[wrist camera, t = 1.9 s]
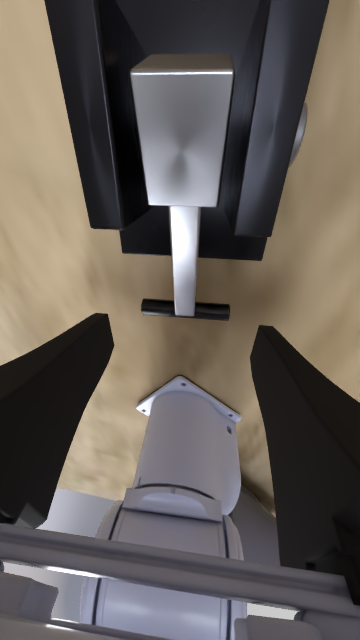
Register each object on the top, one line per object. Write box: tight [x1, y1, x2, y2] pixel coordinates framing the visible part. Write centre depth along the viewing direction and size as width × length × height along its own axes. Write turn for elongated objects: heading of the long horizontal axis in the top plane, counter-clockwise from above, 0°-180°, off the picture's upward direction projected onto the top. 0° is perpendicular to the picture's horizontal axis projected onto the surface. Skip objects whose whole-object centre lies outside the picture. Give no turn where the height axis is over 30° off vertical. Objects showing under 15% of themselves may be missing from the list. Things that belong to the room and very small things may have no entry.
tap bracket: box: [44, 0, 329, 261], centre depth 8 cm, size 11×9×9 cm
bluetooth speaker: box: [228, 485, 281, 566], centre depth 34 cm, size 23×9×10 cm, turn 35°
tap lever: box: [129, 53, 235, 321], centre depth 9 cm, size 10×5×2 cm, turn 179°
